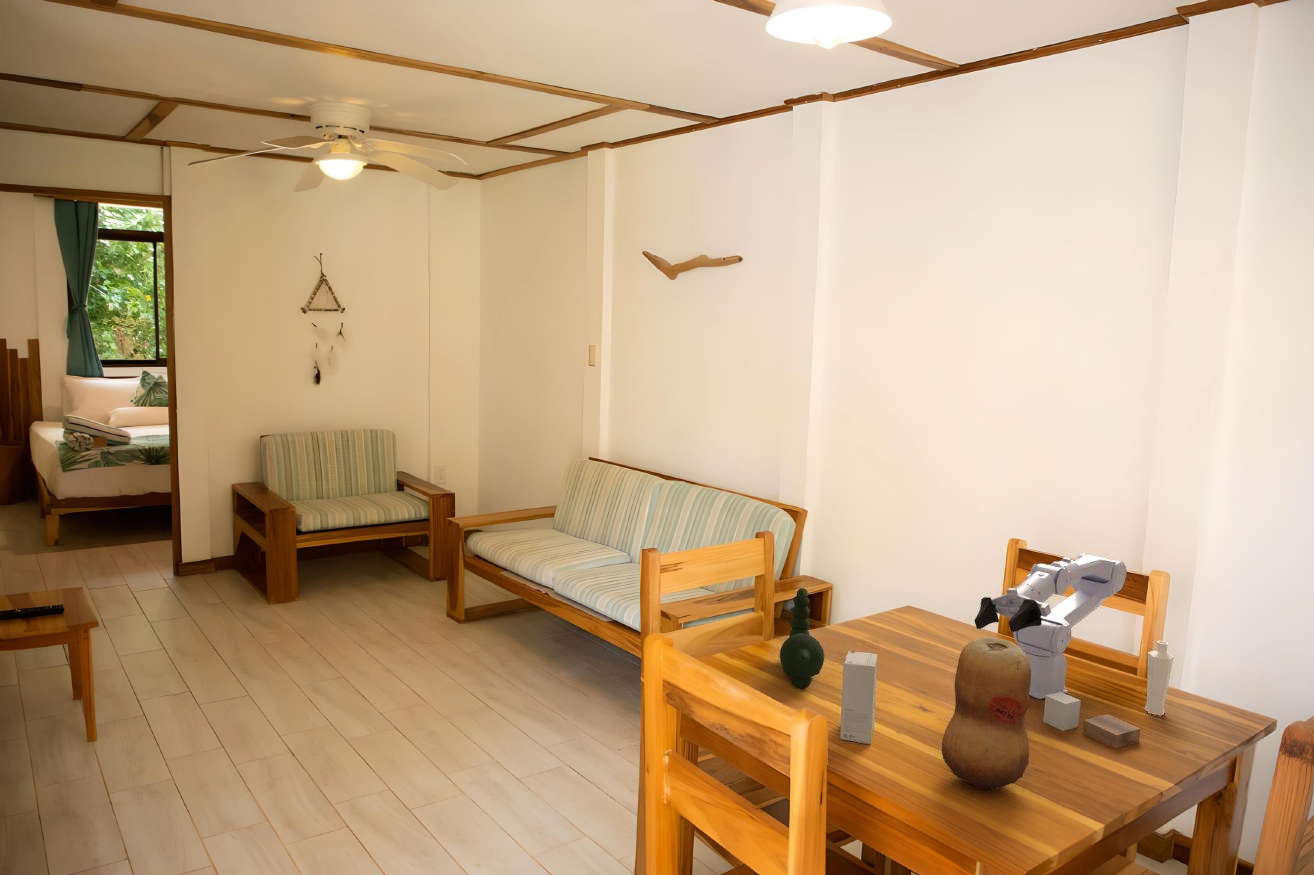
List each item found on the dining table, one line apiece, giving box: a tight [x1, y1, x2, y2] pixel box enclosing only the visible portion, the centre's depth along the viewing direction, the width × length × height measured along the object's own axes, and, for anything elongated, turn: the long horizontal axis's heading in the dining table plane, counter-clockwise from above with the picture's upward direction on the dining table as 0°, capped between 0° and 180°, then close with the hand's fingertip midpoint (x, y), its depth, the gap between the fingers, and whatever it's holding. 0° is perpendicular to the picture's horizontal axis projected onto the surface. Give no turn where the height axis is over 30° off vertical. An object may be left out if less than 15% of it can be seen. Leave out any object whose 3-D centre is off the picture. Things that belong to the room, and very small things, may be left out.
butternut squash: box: [941, 636, 1031, 790], centre depth 149 cm, size 14×13×25 cm
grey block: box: [1042, 692, 1081, 732], centre depth 176 cm, size 4×4×6 cm
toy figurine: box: [779, 587, 825, 689], centre depth 195 cm, size 9×19×25 cm
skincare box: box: [839, 650, 878, 745], centre depth 168 cm, size 8×6×15 cm
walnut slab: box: [1081, 713, 1141, 749], centre depth 171 cm, size 7×7×3 cm
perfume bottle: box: [1144, 640, 1174, 715], centre depth 183 cm, size 5×4×15 cm
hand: (993, 625), depth 178 cm, fingers open, 7 cm apart
